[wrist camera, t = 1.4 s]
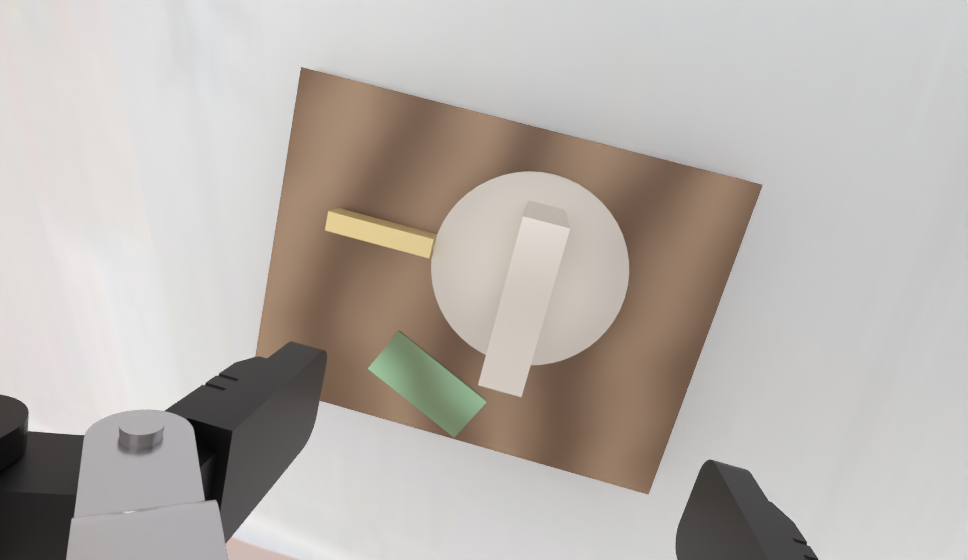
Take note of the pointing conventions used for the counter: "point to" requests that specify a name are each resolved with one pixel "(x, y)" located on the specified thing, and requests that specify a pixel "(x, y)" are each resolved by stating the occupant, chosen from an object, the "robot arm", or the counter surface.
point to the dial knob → (517, 269)
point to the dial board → (411, 299)
